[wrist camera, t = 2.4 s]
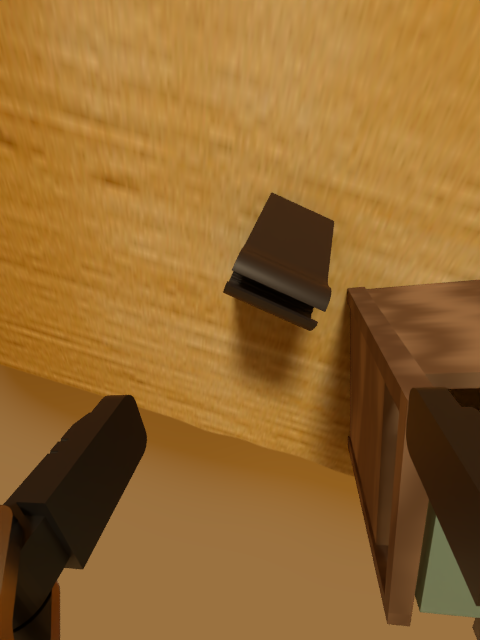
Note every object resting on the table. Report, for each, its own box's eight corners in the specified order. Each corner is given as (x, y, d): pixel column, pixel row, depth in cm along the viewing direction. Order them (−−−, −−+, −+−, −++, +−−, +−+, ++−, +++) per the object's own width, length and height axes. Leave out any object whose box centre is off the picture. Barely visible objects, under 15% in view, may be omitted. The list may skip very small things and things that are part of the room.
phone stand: (287, 306, 31) (287, 375, 20) (233, 281, 31) (202, 337, 20) (334, 220, 27) (364, 249, 16) (272, 191, 27) (260, 200, 16)
